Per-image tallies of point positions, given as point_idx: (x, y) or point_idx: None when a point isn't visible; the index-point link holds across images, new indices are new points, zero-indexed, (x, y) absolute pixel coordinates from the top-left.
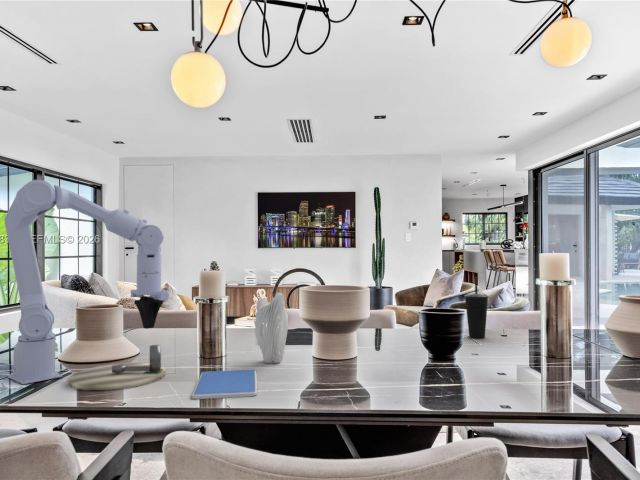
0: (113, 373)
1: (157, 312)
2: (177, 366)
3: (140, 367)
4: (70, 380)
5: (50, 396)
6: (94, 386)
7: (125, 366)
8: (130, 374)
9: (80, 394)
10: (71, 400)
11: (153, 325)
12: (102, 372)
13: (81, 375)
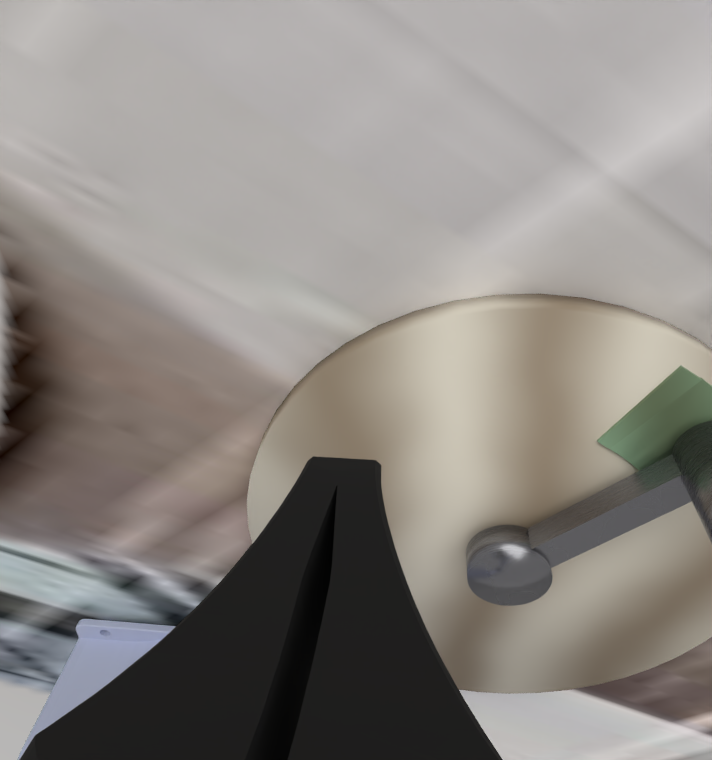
0: None
1: (419, 619)
2: (596, 147)
3: (641, 521)
4: None
5: (527, 734)
6: (618, 674)
7: (546, 560)
8: None
9: (608, 693)
10: (651, 729)
11: (379, 485)
12: (408, 571)
13: None
